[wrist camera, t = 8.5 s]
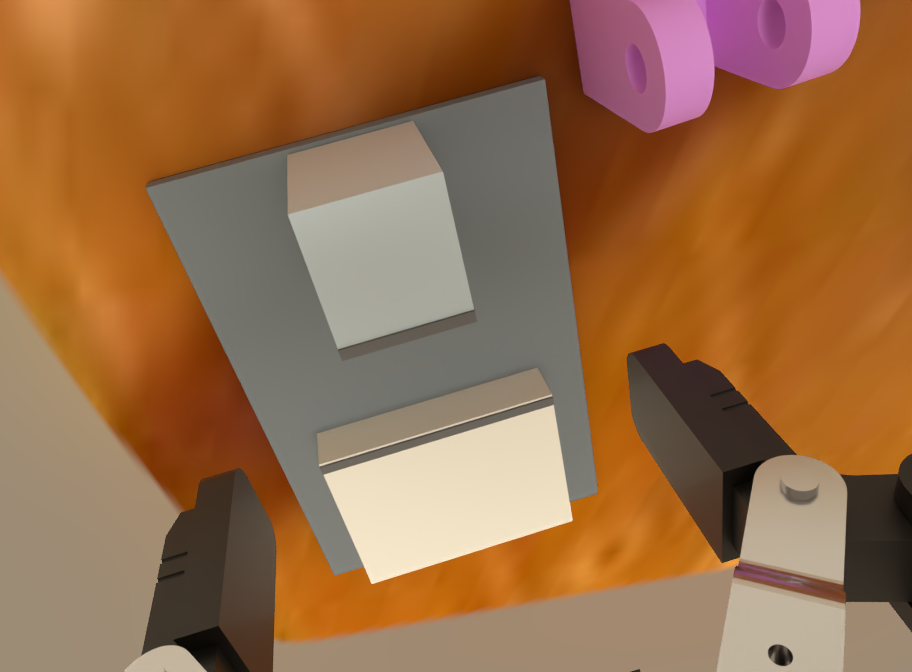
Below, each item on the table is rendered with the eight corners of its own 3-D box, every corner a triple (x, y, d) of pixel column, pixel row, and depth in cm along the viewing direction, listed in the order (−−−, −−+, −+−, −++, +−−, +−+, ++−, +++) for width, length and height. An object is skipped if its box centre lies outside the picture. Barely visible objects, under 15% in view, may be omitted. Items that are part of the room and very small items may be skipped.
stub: (412, 120, 23) (443, 172, 19) (443, 249, 26) (477, 321, 22) (287, 154, 23) (287, 215, 19) (331, 281, 26) (341, 361, 21)
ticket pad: (539, 75, 24) (565, 93, 22) (593, 484, 36) (614, 523, 34) (148, 182, 23) (133, 211, 21) (334, 566, 35) (337, 611, 33)
